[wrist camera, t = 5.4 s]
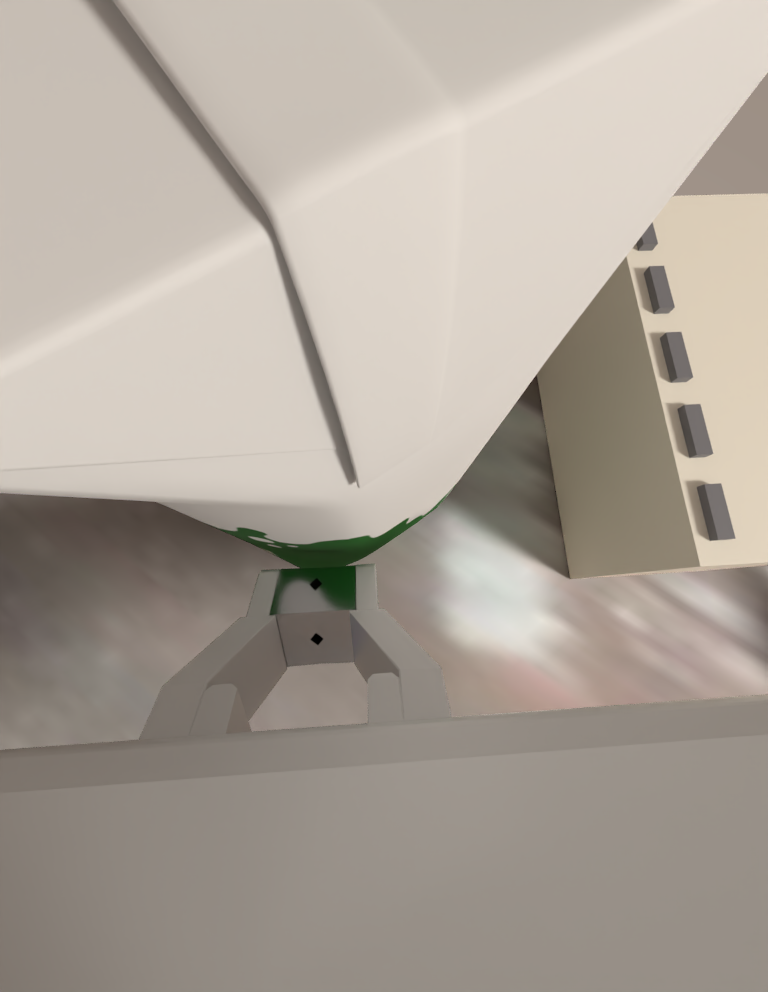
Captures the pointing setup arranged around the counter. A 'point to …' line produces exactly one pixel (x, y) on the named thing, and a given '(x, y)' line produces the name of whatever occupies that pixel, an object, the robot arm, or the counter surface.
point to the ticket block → (668, 400)
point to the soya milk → (322, 236)
